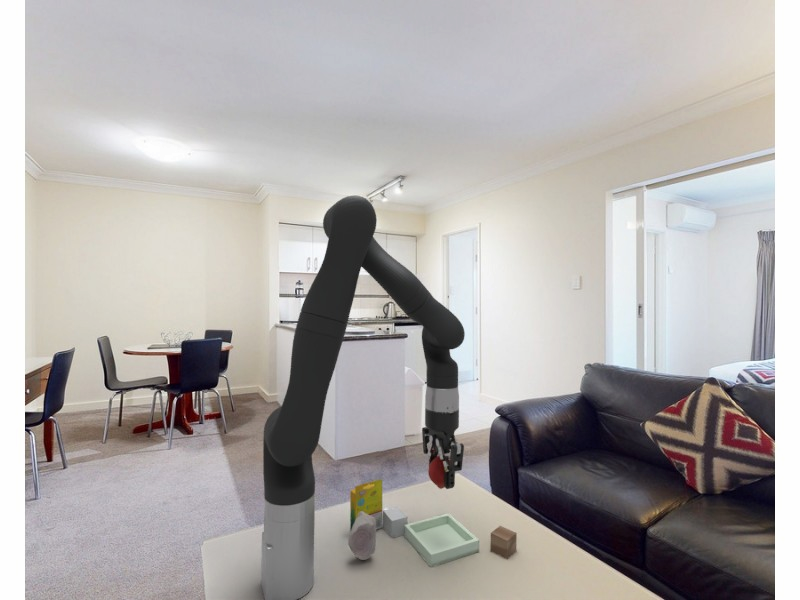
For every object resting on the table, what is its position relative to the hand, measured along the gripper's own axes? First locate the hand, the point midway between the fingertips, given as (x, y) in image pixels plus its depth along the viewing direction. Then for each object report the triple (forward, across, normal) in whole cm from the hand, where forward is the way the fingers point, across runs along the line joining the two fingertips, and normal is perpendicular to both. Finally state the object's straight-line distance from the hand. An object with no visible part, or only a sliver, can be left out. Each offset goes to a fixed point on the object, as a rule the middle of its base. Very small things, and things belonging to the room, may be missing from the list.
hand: (441, 481), depth 89 cm
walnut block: (+14, +8, +11) cm, 19 cm away
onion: (+2, 0, 0) cm, 2 cm away
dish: (+14, 0, 0) cm, 14 cm away
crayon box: (+14, -12, -13) cm, 23 cm away
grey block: (+14, -9, -7) cm, 18 cm away
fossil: (+14, -2, -18) cm, 23 cm away
